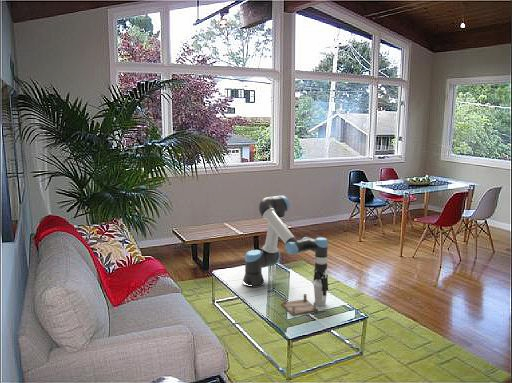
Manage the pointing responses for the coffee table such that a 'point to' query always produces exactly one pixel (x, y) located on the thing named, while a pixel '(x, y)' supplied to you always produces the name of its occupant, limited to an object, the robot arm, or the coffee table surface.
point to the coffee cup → (318, 293)
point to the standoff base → (299, 306)
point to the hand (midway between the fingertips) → (320, 297)
